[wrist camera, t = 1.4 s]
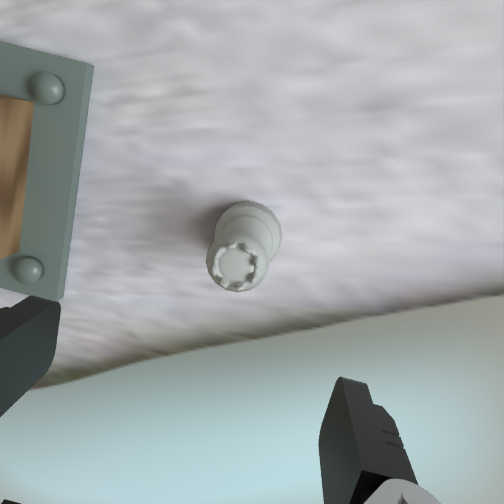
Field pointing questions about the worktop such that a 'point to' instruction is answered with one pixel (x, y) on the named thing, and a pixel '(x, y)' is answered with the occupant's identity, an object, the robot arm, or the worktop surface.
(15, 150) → the stepped wooden plinth
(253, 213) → the rook chess piece
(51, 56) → the baseplate
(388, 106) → the worktop surface
